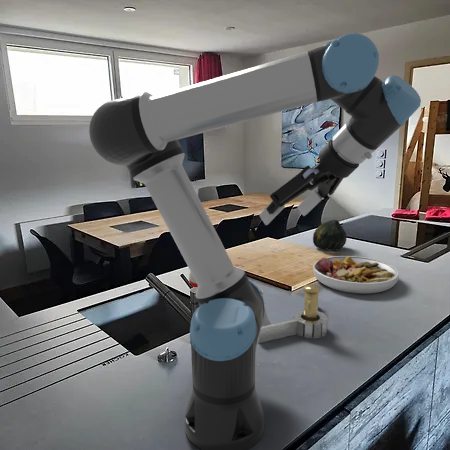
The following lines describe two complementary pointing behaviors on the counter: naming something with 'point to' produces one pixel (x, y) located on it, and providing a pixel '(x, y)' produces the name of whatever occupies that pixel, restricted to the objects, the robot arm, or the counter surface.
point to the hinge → (295, 328)
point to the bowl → (355, 274)
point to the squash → (330, 236)
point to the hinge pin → (311, 302)
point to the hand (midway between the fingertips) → (283, 215)
